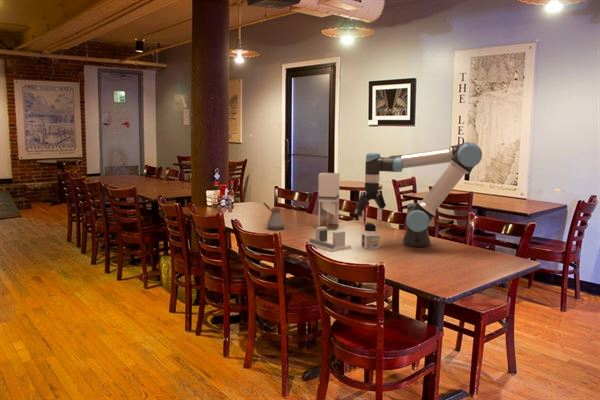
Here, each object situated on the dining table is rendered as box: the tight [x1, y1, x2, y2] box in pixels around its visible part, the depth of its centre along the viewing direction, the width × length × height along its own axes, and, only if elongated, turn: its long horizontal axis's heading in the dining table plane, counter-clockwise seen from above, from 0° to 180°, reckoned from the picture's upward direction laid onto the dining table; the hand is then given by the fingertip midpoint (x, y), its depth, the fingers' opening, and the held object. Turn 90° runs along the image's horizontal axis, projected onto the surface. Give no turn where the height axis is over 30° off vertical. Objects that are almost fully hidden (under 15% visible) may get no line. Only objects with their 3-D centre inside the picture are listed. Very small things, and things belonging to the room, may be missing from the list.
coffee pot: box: [262, 202, 286, 231], centre depth 336 cm, size 21×12×15 cm, turn 34°
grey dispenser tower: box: [317, 172, 340, 231], centre depth 333 cm, size 11×11×35 cm
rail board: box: [308, 226, 352, 253], centre depth 285 cm, size 19×14×10 cm
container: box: [360, 222, 381, 250], centre depth 284 cm, size 8×8×13 cm
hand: (370, 221), depth 283 cm, fingers open, 13 cm apart
